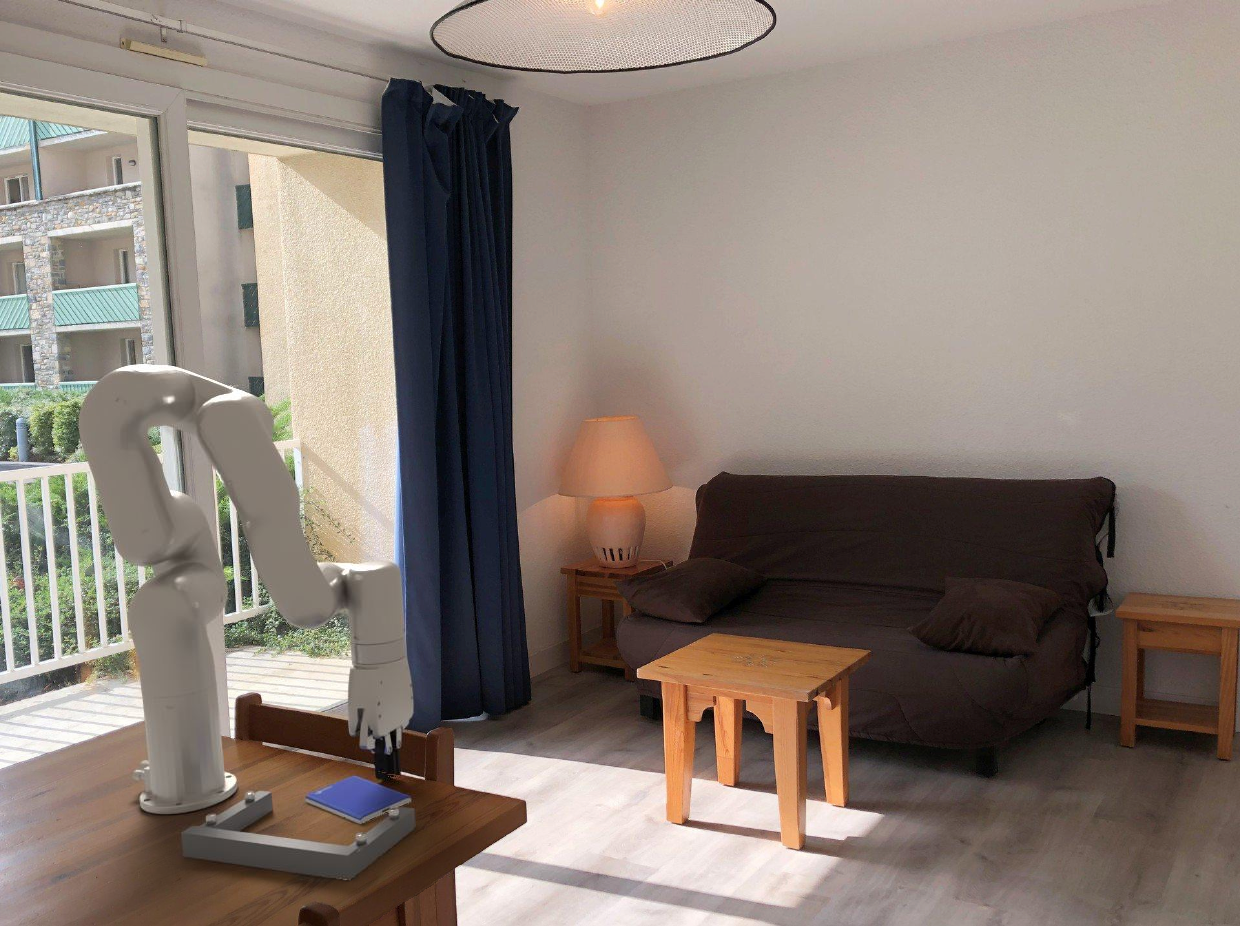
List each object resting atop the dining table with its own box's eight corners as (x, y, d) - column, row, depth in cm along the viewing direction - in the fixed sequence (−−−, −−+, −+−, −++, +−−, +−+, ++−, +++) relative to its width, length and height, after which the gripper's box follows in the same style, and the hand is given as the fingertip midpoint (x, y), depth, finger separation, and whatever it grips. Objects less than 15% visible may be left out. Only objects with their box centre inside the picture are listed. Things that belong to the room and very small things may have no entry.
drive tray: (183, 856, 125) (180, 828, 125) (260, 808, 138) (258, 783, 138) (349, 880, 117) (347, 851, 117) (415, 827, 130) (413, 800, 130)
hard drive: (305, 794, 140) (359, 816, 132) (355, 774, 146) (411, 794, 138) (306, 805, 140) (360, 828, 132) (356, 784, 146) (411, 805, 138)
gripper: (385, 635, 152) (394, 756, 154) (323, 664, 138) (334, 796, 140) (430, 637, 150) (438, 760, 151) (371, 667, 136) (381, 801, 137)
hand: (388, 777), depth 146 cm, fingers closed
